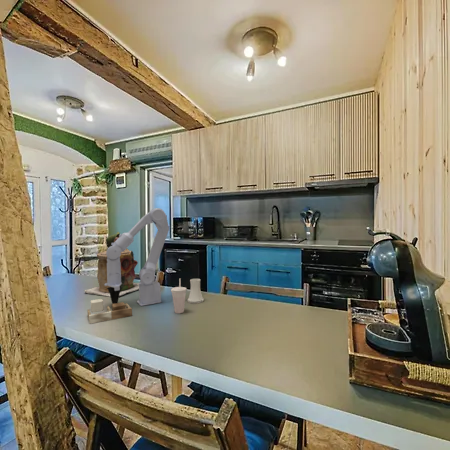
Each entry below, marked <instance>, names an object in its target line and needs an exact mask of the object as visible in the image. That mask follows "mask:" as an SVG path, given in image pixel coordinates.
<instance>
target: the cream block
mask: <svg viewBox="0 0 450 450" xmlns="http://www.w3.org/2000/svg"><path fill="white" fill-rule="evenodd" d="M101 311H103V312H104V300H103V299H102V298H98V299H92V300H90V312H91V313H95V312H101Z"/></svg>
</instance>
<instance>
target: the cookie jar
mask: <svg viewBox="0 0 450 450" xmlns="http://www.w3.org/2000/svg"><path fill="white" fill-rule="evenodd" d="M120 234H121V232H119V231H117V232H116V233H114V234H111V235H108V236H107V237H106V239H105V243H106V250H104V251H102V252H98V253H97V254H96V257H97V258H98V263H97V275H96V276H97V277H96V278H97V282H98V286H95V287H91V288H89V289H88V288H87V289H85V290H83V291H84V293H85V294H89V295H91V294H92V295H96V296H104V297H110V293H109V291H108V289H107V288H108V287H110V286H105V285H104V284H105V283H107V255H106V252H107V249H108V248H109V247H110V246H112V245H111V244H112V243H114V242H115V241H116V240H117V239H118V238H119V235H120ZM134 255H135V254H134V251H133V250H129V249H128V247H127V248H126V249H125V251H123V252H121V255H120V262H121V282H122V284H121V285H120V286H121V288H122V290H121V291H120V294H119V297H121V296H123V295H126V294H127V293H133V292H134V291H135V292H136V291H139V282H134V280H135V279H136V272H135V269H136V267H137V265H138V263H139V262H138V261H137V260H135V257H134ZM110 298H111V297H110Z"/></svg>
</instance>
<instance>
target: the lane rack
mask: <svg viewBox="0 0 450 450" xmlns="http://www.w3.org/2000/svg"><path fill="white" fill-rule="evenodd" d="M124 304H125V308H126V309H121V310H115V311H112V308H110V306H109V305H108V306H106V311H105V312H104V311H103V312H99V313H95V314H93V313H92V311H91V308H89V309H87V310H86V311H87V319H88V324H90V325H92V324H95V323H97V324H98V323H101V322H107V321H112V320H117V319H122V318H127V317H132V316H133V308H132V307H131V306H130V305H129V304H128V303H127V302H126V303H124Z"/></svg>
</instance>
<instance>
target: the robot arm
mask: <svg viewBox="0 0 450 450" xmlns="http://www.w3.org/2000/svg"><path fill="white" fill-rule="evenodd" d="M168 222H169V221H168V218H167V214H166V213H165V211H164V210H163V209H162V208H159V207H156V208H152V209H151V210H149V212H147V213H146V214H144V215H143V216H142V217H141V218H140V219H139V220H138V221H137V222H136V223H135V225H134V226H132V228H131V229H130V230H128V232H123V233H120V235H119V238H118V239H117V240H116V241H115V242H114V243H112V244H111V245H112V246H110V247H109V248H108V247H107V248H108V249H107V248H106V250H107V252H106V255H107V283H105V284H104V285H105V286H110V287H108V288H107V289H108V291H109V293H110V300H111V305H112V304H115V303H119V298H120V296H119V294H120V291H121V290H122V288H121V286H120V285H121V284H122V282H121V262H120V255H121V252H123V251H125V249H126V248H127V249H128V248H129V246H131V245H132V243H133V242H134V237H135V236H137V234H139V232H140V231H141V230H143V228H145V227H146V225H150V224H154V225H155V228H156V229H157V232H156V234H155V236H154V240H153V241H152V246H151V247H150V250H149V254H148V256H147V259H146V261H145V263H144V265H143V267H142V268H141V269H140V270H139V272H138V273H139V274H138V276H139V278H140V281H139V282H138V283H139V289H138V300H136V302H137V303H138V304H139V306H142V307H143V306H148V305H153V304H160V303H162V293H161V291H162V288H161V283H160V282H158V281H155V280H156V276H155V275H156V270H157V264H158V261H159V259H160V256H161V253H162V250H163V248H164V244H165V242H166V240H167V236H168V233H169V230H170V227H169V223H168Z"/></svg>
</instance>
